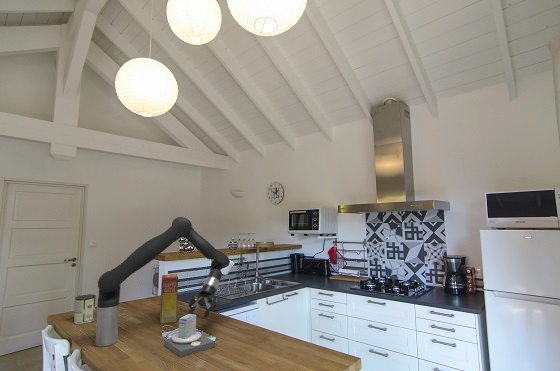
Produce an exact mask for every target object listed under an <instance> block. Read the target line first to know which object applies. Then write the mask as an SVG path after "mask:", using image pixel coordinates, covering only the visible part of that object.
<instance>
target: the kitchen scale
mask: <svg viewBox="0 0 560 371" xmlns="http://www.w3.org/2000/svg"><path fill="white" fill-rule="evenodd" d="M178 334H179V332H177V333H176V334H173V335H172V337H170V338H166V339H164V342H163V346H164V347H166V348H167V349H169V350H170V351H171V352H173V353H174V354H175V355H176V356H177V357H179V358H184V357H187V356H190V355H194V354H197V353H201V352H203V351H206V350H210V349H213V348H215V346H216V345H215V341H214V340H212V339H211V338H209V337H208V336H205V335H203V334H202V333H201V332H200V331H197V330H196V333H195V334H193V335H192V336H190V337H188V338H187V339H182V338H178Z"/></svg>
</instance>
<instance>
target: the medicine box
mask: <svg viewBox="0 0 560 371" xmlns="http://www.w3.org/2000/svg"><path fill="white" fill-rule="evenodd" d="M196 331H197V314H194V313H193V314H189V313H188V314H186V315H184V316H182V317H180V318H179V319H178V333H179V334H178V338H182V339H187V338H188V337H190V336H192V335H193V334H195V333H196Z"/></svg>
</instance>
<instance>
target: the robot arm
mask: <svg viewBox="0 0 560 371" xmlns="http://www.w3.org/2000/svg"><path fill="white" fill-rule="evenodd" d="M192 226H193V225H192V221H191V220H190V219H188V218H186V217H183V216H179V217H175V218H174V219H173V220H172V222H171V226H170V227H168V228H167V229H166V230H165V231H164V232H162V233H161V234H158V235H156V236H154V237H153V238H150V239H149V240H147V241H145V242H144V243H143V244H141V245H140V246H139V247H137V249H135V250H134V251H133V252H131V253H130V254H129V255H128V256H127V257H126V258H125V260H124V261H123V262H121V263H120V264H119V265H116V266H115V267H114V268H113V269H111V270H108V271H105V272H104V273H103V274H101V275H100V276H99V278H98V281H97V288H98V297H97V305H96V308H97V309H96V323H95V324H96V326H95V328H96V329H95V347H100V348H101V347H107V346H108V347H109V346H112V345H114V344H116V343H118V340H119V339H118V336H119V335H118V334H119V333H118V332H119V314H120V313H119V312H120V297H121V285H122V284H123V282H124V281H126V280H127V279H129V277H130V276H131V275H133V274H134V273H136V272H137V271H139V270H140V269H142V268H143V267H145V266H146V265H148V264H149V263H151V262H152V261H153V260H154V259H156V258H157V257H158V256H160V255H161V254H162V253H163V252H164V251H165V250H166V249H168V248H169V247H170V246H171V245H172V244H174V243H175V242H176V241H178V240H180V239H182V238H185V239H186V240H187V241H188V242H189V243H190V244H192V245H193V246H194V248H196V250H198V252H199V253H200V254H201V255H202V256H203V257H205V258H206V259H207V260H212V261H211V264H210V269H209V272H208V275H207V278H206V279H205V281H204V283H203V286H202V287H201V289H200V292H199V295H198V296H196V295H192V298H191V300H190V302H189V303H188V307H189V308H190V309H189V311H188V314H194V313H195V310H196V309H197V308H200V307H206V309H205V312H204V314H203V317H204V318H205V319H207V318H208V317H209V315H210V312H211V311H215V310H216V308H217V307H216V306H217V304H218V298H217V297H216V296H215V295H216V293H217V290H218V288H219V284H220V282H221V279H222V277H223V273H222V271H221V270H222V269H225V268H228V267H229V265H231V264H230V263H231V262H230V260H231V259H230V258H229V256H228V255H227V254H225V253H224V252H222V251H220V250H218V249H217V248H215V247H214V245H212V244H211V243H210V242H209V241H208V240H206V239H205V238H204V237H203V236H202V235H200V234H199V233H198V232H197V231H196V230H195V229H194V228H193V227H192Z"/></svg>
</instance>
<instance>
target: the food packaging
mask: <svg viewBox="0 0 560 371" xmlns="http://www.w3.org/2000/svg"><path fill="white" fill-rule="evenodd" d="M160 285H161V286H160V287H161V288H160V305H159V306H160V307H159V322H160V325H161V324H162V325H163V324H170V323H177V321H178V320H177V319H178V317H177V316H178V293H179V291H178V289H179V288H178V287H179V276H178V274H173V273H172V274H162V275H161V283H160Z"/></svg>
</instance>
